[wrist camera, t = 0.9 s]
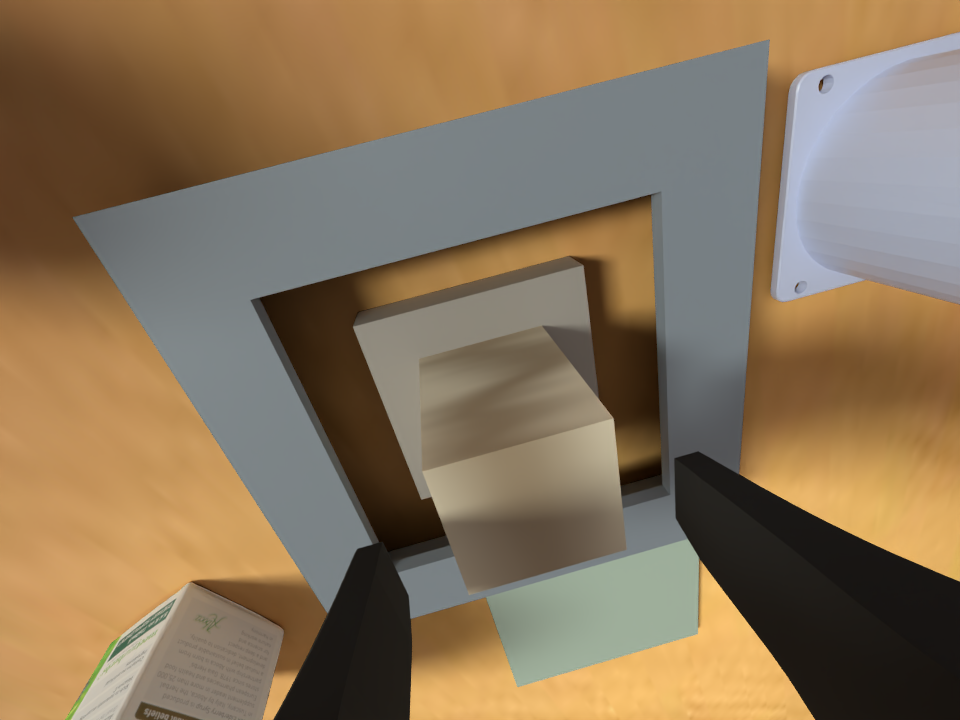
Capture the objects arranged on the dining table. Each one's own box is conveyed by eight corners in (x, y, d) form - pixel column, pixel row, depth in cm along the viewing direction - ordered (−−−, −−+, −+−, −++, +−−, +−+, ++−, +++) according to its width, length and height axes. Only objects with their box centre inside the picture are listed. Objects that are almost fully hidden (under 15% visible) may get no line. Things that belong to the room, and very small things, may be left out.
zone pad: (695, 520, 23) (699, 526, 22) (694, 627, 27) (697, 633, 27) (481, 581, 23) (482, 588, 22) (516, 679, 27) (517, 687, 27)
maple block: (541, 325, 15) (613, 418, 10) (559, 426, 17) (626, 549, 12) (418, 358, 15) (422, 471, 9) (451, 456, 17) (468, 595, 11)
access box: (698, 63, 13) (769, 39, 11) (695, 479, 22) (735, 525, 19) (143, 205, 13) (72, 217, 10) (352, 577, 21) (343, 638, 18)
